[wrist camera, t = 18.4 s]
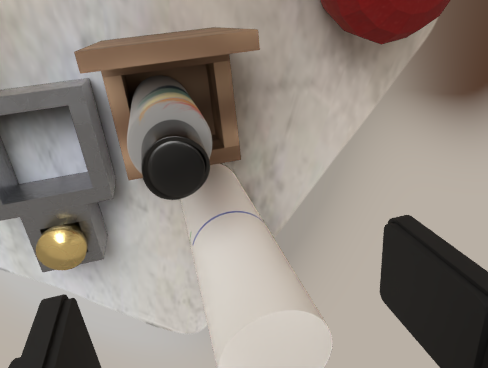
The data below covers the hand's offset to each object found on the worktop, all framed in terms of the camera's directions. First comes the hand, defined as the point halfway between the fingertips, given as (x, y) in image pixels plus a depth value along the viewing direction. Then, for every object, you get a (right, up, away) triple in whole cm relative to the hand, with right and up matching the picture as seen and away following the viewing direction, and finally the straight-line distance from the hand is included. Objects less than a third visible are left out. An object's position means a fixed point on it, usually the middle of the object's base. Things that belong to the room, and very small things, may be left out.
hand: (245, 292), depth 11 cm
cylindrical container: (-4, +2, +34) cm, 34 cm away
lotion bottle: (-9, +12, +27) cm, 31 cm away
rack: (-8, +12, +28) cm, 32 cm away
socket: (-20, +5, +28) cm, 35 cm away
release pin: (-19, -1, +30) cm, 35 cm away
